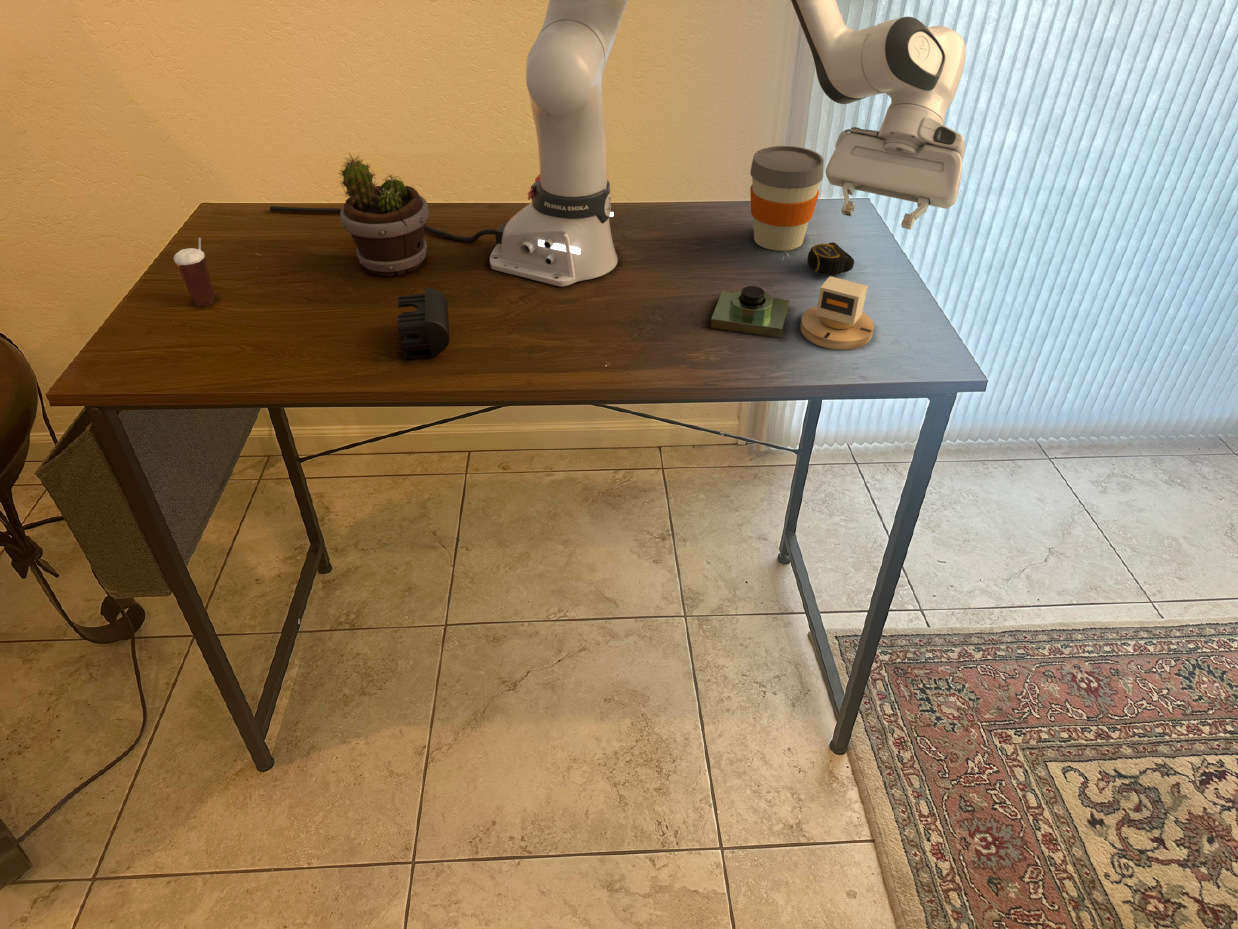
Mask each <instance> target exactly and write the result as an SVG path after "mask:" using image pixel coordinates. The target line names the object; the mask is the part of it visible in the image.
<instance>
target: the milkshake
mask: <svg viewBox="0 0 1238 929" xmlns="http://www.w3.org/2000/svg"><path fill="white" fill-rule="evenodd" d="M173 261H174V263H175V266H176V267H177V269H178V271H179V273H180V275H181V278H182V280H183V282H184V284H185V287H186V288H187V291H188V293H189V295H190V297H191V300H192V301H193V304H195V305H196V306H197V307H208V306H211V305H213V304H214V303H216V295H215V294H216V293H215V290H214V286H213V282H212V279H211V276H210V272H209V268H208V264H207V260H206V255H205V252H204V251H203V250H202V238H201V237H198V248H193V247H190V248H183V249H181V250H179V251H178V252H176V253H175V254H174V255H173Z"/></svg>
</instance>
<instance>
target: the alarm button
mask: <svg viewBox="0 0 1238 929" xmlns="http://www.w3.org/2000/svg"><path fill="white" fill-rule="evenodd" d="M740 290H741V299H740V301H741V303H742V304H745V305H748V306H759V305H762V304H763V302H764V293H765V292H766V291H765V290H764V288H761V287H760V286H755V285H748V286H745V287H744V286H743V288H742V289H740Z"/></svg>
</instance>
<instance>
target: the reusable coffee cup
mask: <svg viewBox="0 0 1238 929" xmlns="http://www.w3.org/2000/svg"><path fill="white" fill-rule="evenodd" d="M751 161H752V162H751V166H750V177H751V178H752V180H751V182H752V184H751V185H750V188H749V189H750V190H749V193H750V195H749V196H750V214H751V216H752V217H753V241H754V242H755V243H756V244H757V245H758V246H760V247H762V248H764V249H767V250H772V251H778V252H779V251H781V252H782V251H783V252H785V251H791V250H795V249H797V248H799V247H801V246H802V245H803V242H804V239H805V236H806V232H807V229H808V225H809V222H810V221H811V220H812V218H813V217H814V212H815V208H816V205H817V201H818V199H819V195H820V191H819V186H820V183H821V181H823V178H824V162H825V161H824V157H823V156H822V155H821V154H820V153H818V152H816V151H814V150H812V149H810V148H807V147H806V148H805V147H801V146H794V145H775V146H769V147H764V148H761V149H759V150H757V151H756V152H755V153H754V154H753V157H752V160H751Z"/></svg>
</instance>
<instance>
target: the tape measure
mask: <svg viewBox="0 0 1238 929" xmlns="http://www.w3.org/2000/svg"><path fill="white" fill-rule="evenodd" d="M806 262H807V266H808V267H809V269H810V270H811V271H813V273H816V274H818V275H822V276H828V277H830V276H831V277H835V276H837V275H840V274H843V273H847V272H851V271H852V270H853V268H854V265H855V260H854V258H853V257H852V256H851V255H850V254H849V253H848V252H847V251H846V250H844V249H843V248H841V246H839V244H837V243H836V242H833V241H832V242H828V243H817V244H815V245H813V246H812V247H811V248H810V250H809V251H808V253H807V260H806Z"/></svg>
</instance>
